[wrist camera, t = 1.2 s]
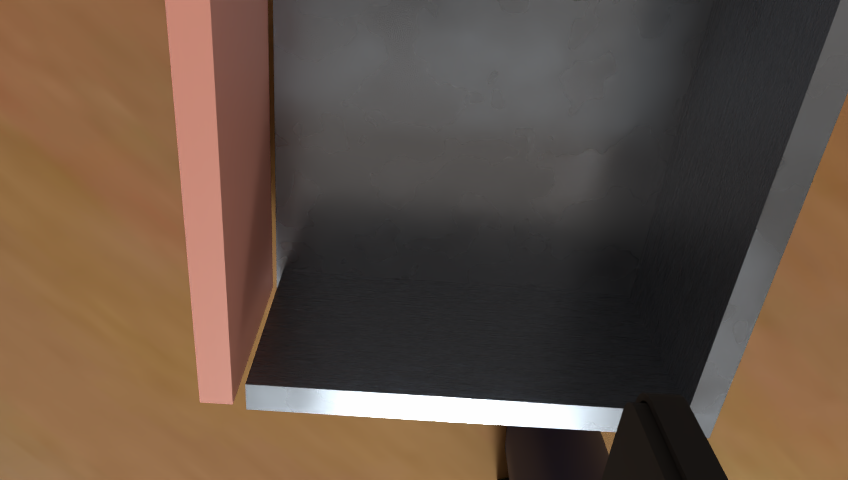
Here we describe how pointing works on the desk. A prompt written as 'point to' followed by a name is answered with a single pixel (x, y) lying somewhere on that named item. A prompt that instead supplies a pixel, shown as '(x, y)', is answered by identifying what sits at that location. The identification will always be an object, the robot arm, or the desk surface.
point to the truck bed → (535, 200)
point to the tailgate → (223, 178)
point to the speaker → (554, 454)
